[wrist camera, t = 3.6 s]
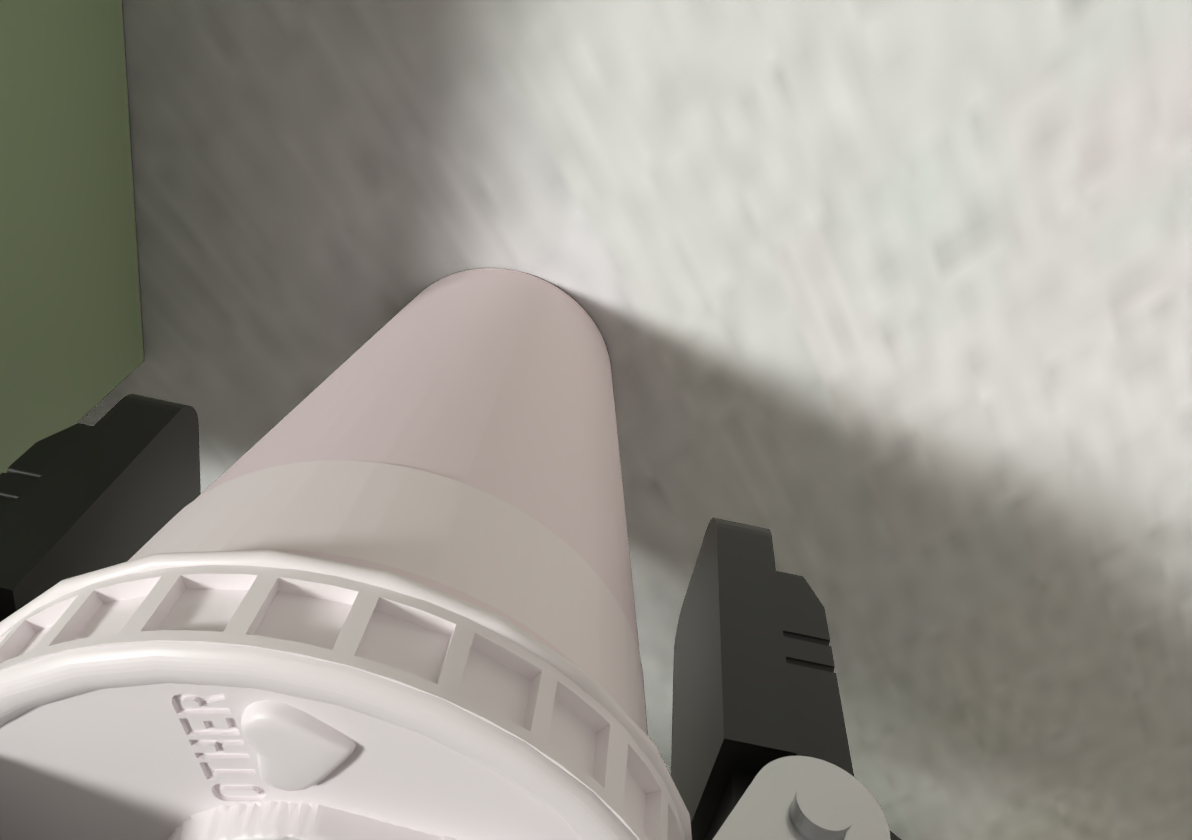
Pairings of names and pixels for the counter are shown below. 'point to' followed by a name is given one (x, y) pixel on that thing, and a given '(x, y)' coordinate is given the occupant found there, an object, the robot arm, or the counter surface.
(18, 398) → the green base
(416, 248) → the counter surface
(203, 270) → the counter surface
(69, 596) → the smoothie
